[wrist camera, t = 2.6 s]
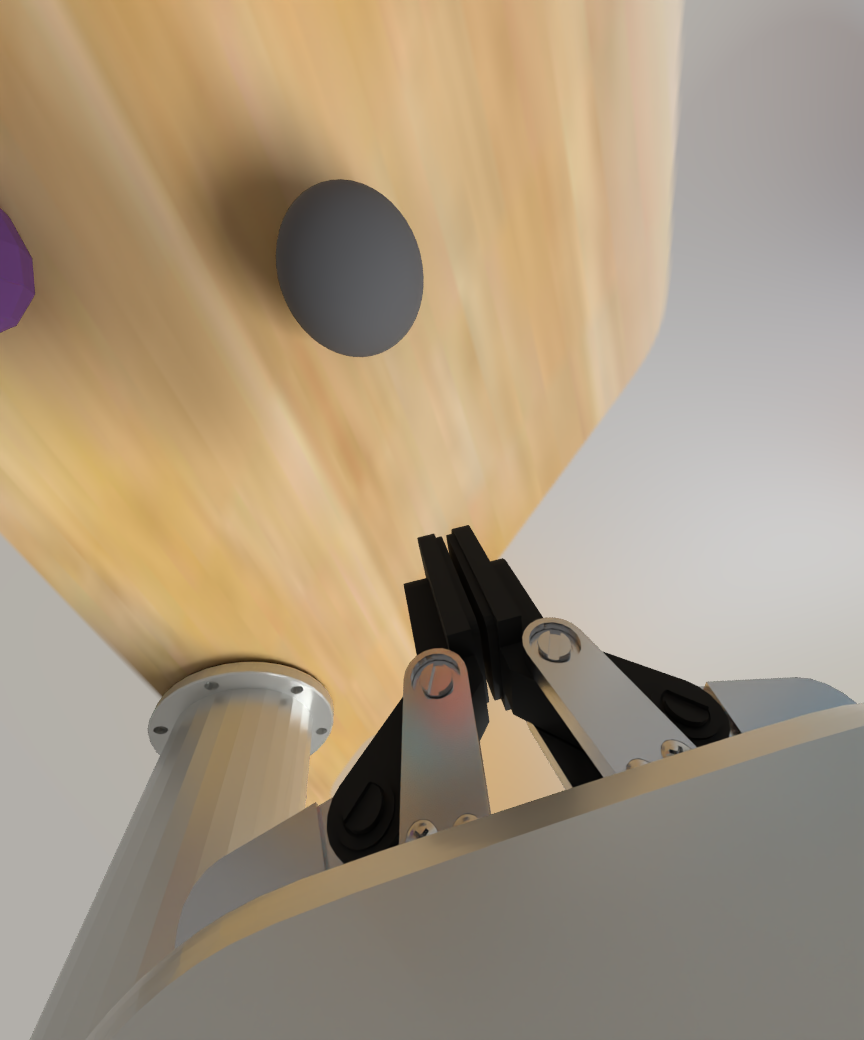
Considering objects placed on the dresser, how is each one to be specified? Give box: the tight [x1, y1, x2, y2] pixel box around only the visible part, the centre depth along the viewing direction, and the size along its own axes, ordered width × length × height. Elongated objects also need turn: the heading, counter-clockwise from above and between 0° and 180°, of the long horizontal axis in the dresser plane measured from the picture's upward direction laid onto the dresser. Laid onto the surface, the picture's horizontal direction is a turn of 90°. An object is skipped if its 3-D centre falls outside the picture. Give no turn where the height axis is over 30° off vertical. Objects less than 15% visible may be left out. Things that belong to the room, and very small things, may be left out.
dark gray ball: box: [276, 179, 423, 357], centre depth 13 cm, size 6×6×6 cm
